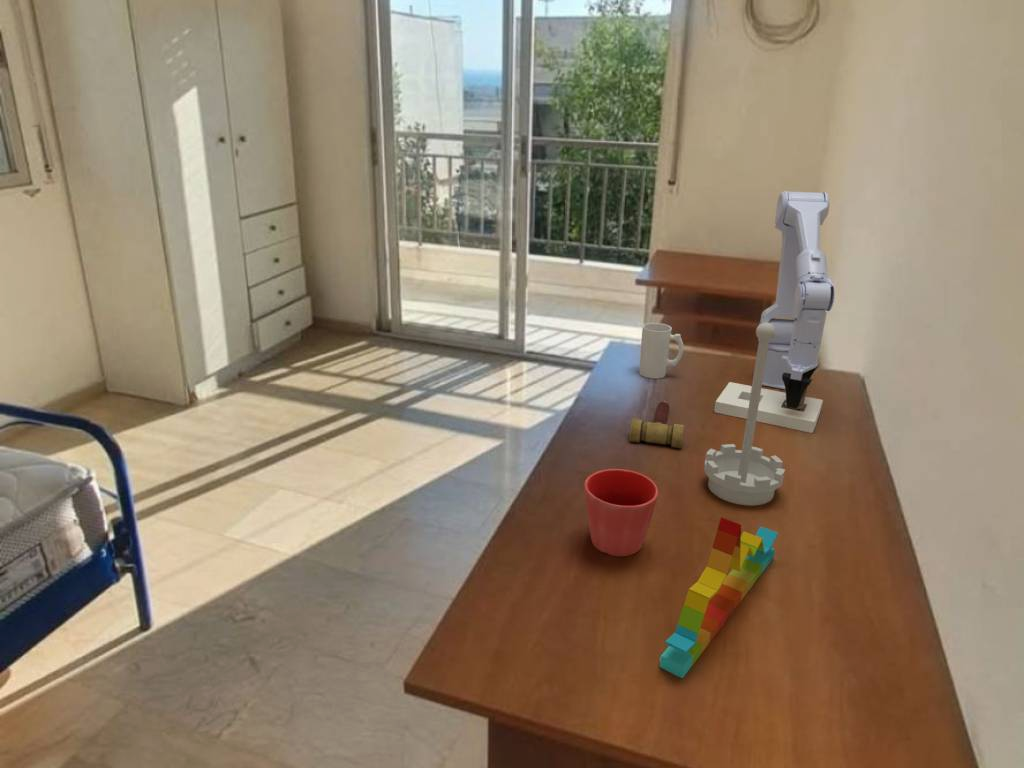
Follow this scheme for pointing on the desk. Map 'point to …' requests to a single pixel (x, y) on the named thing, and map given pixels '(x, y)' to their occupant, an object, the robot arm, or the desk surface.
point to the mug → (657, 350)
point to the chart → (717, 592)
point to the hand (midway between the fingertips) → (794, 400)
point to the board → (769, 407)
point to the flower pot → (619, 510)
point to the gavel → (657, 429)
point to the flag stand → (747, 450)
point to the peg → (800, 402)
